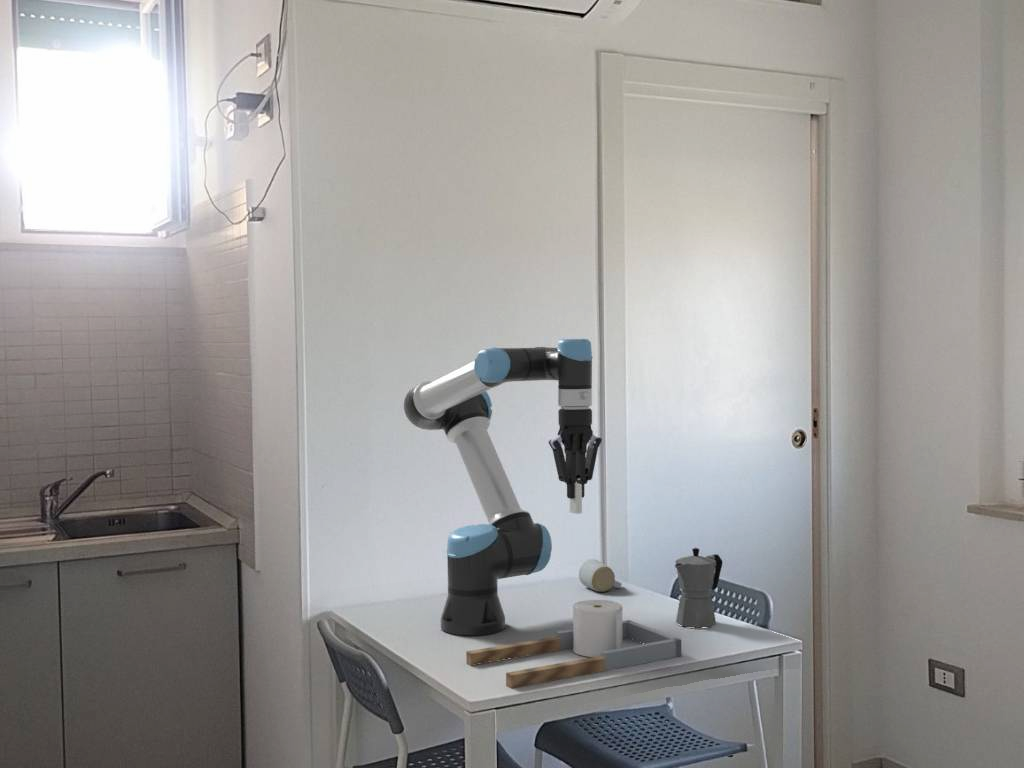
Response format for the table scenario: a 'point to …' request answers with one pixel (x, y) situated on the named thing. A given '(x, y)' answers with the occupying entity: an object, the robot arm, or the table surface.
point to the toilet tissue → (597, 627)
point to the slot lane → (536, 673)
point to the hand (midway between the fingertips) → (575, 512)
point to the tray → (651, 650)
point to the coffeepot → (697, 589)
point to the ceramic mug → (597, 576)
